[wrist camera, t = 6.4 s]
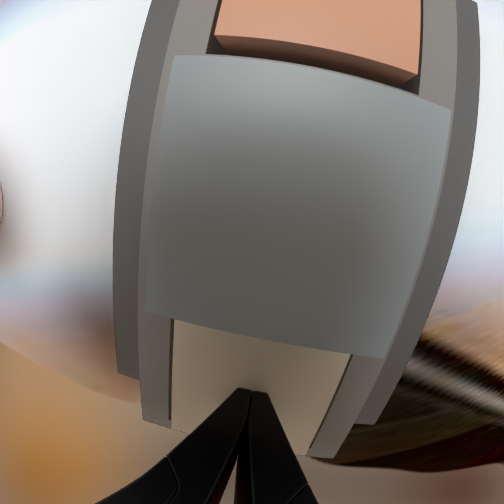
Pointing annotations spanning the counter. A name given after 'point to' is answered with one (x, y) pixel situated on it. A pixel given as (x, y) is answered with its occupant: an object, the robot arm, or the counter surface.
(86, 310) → the counter surface
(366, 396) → the keypad
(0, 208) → the smoothie
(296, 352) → the key ivory
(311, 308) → the key slate
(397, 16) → the key terracotta
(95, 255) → the counter surface
